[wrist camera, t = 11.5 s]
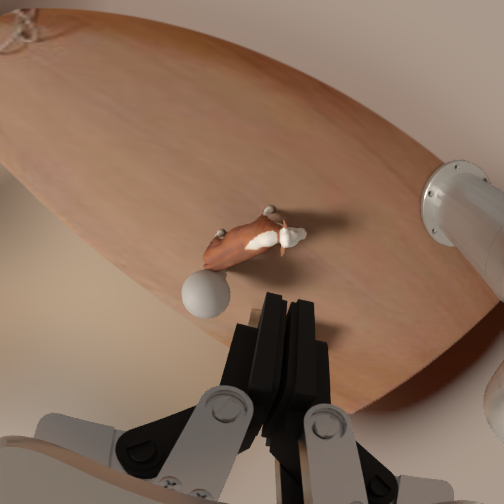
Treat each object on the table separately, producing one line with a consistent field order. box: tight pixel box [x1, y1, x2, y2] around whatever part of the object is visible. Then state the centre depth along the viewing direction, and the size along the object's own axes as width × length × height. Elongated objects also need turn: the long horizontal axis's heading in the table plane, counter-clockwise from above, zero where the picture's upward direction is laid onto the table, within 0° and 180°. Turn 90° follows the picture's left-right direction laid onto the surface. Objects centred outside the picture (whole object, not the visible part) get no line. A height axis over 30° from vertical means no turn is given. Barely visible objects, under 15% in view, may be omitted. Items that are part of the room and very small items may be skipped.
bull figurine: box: [203, 205, 307, 272], centre depth 37 cm, size 4×13×8 cm, turn 115°
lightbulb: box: [182, 268, 230, 319], centre depth 39 cm, size 6×6×11 cm
